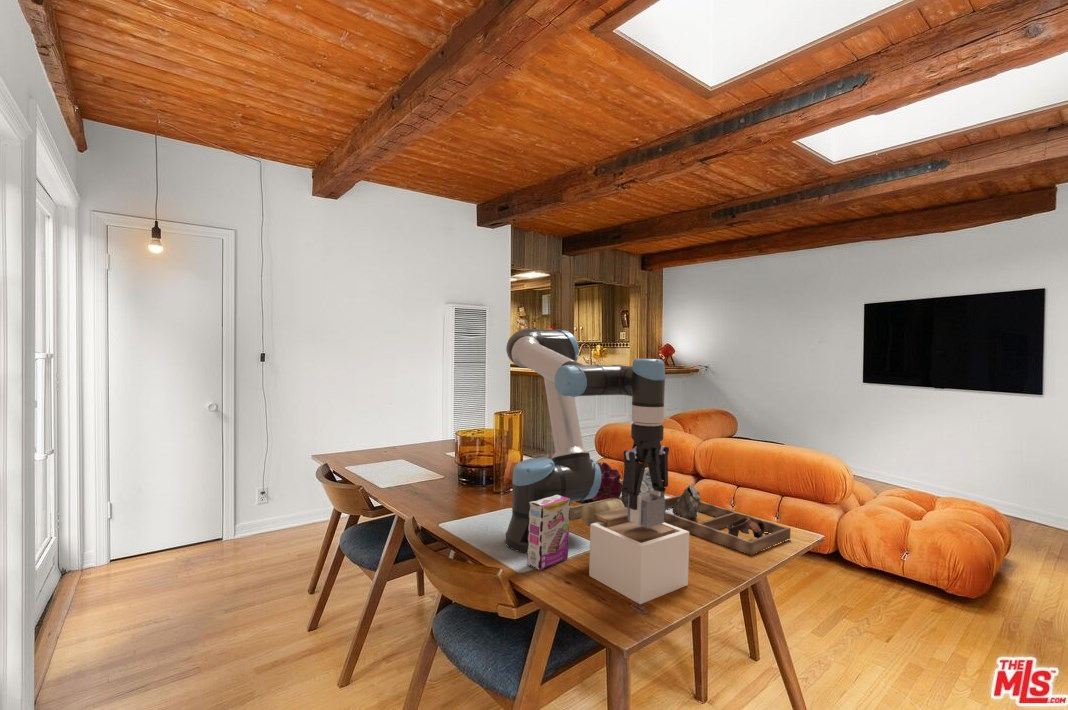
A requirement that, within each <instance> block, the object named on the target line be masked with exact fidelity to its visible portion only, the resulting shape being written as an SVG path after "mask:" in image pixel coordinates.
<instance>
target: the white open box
mask: <svg viewBox="0 0 1068 710" xmlns="http://www.w3.org/2000/svg"><path fill="white" fill-rule="evenodd" d="M661 525H663V526H666V527H669V528H671V529H674V533H672V534H669V535H666V536H663V537H659V538H656V539H653V540H649V541H646V542H643V543H640V542H638V541H635V540H633V539H631V538H628V537H626V536H624V535H621V534H619V533H617V532H615V531H612V530H610V529H608V528H605V527H604V526H607V523H606V522H604V521H600V522H596V523H592V524H590V526H589V529H590V530H589V535H590V536H589V565H588V566H589V571H588V572H589V574H588V576H589V577H591V578H593V579H594V580H596V581H597V582H600V583H601V584H604V585H605V586H607V587H609V588H610V589H612V590H613V591H616V592H617V593H619V594H621V595H623V596H624V597H626V598H628V599H630V600H631V601H633V602H635V603H637V604H639V605H642V604H645V603H648V602H651V601H652V600H655V599H657V598H660V597H662V596H664V595H667V594H669V593H672V592H675V591H676V590H679V589H681V588H685V587H686V586H689V562H690V561H689V559H690V558H689V556H690V555H689V554H690V533H689V531H686V530H684V529H681V528H678V527H676V526H673V525H670V524H667V523H665V522H664V523H662V524H661Z"/></svg>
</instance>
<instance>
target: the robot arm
mask: <svg viewBox="0 0 1068 710" xmlns="http://www.w3.org/2000/svg"><path fill="white" fill-rule="evenodd" d="M505 349H506V353H507V357H508V359H509V360H510V361H511V362H512V363H513V364H514V365H516V366H518V367H519V368H524V369H525V368H526V369H527V368H528V369H530V370H532V371H533V372H535V373H537V374H538V375H541V377H543V379H544V380H543V381H544V387H545V394H546V400H547V407H548V413H549V418H550V419H549V420H550V426H551V433H552V440H553V446H554V453H553V455H552V457H551V458H547V457H533V458H528V459H524V460H522V461H519V462H518V463H516V465H515V466H514V467H513V474H512V504H511V505H512V506H511V507H512V510H511V511H512V512H511V514H512V515H511V517H510V520H509V524H508V528H507V531H506V533H505V545H506V544H507V545H508V546H509V547H510V549H511V548H512V550H513V549H514V551H516V550H517V552H520V551H521V553H527V554H528V531H529V530H528V529H529V502H532V501H536V500H540V499H544V498H547V497H551V496H554V495H560V496H564V497H567V498H570V503H572V502H573V503H574V502H583V500H586V499H591V498H593V497H594V496H595V495H596V494H597V493H598V490H599V488H600V485H601V470H600V467H599V465H598V462H597V460H595V459H593V458H591V455H590V452H589V451H588V450H587V449H585V448H584V445H583V438H582V434H581V428H580V420H579V416H578V415H579V414H578V410H577V404H576V397H588V396H589V397H592V396H593V397H595V396H596V397H597V396H629V397H631V421H632V422H633V423H632V424H630V425H631V426H630V427H631V431H630V438H631V439H632V441H633V445H632V448H631V449H630V450H625V449H624V450H623V453H622V454H623V460H624V464H623V465H624V466H623V476H622V477H623V478H622V480H623V492H624V493H627V494H629V508H630V521H631V522H633V523H636V524H641V497H642V496H639V492H640V488H641V483H642V479H643V475H644V470H645V468H649V473H650V478H651V483H652V488H653V489H654V490H653V489H651V490H650V493H651V494H654V495H657V496H662V491H663V492H665V493H666V491H667V488H668V487H669V461H668V460H669V459H668V458H669V453H670V452H669V451H670V448H669V446H665V445H662V444H661V442H662V441H663V440H664V427H665V426H663V423H664V422H665V386H666V384H665V382H666V371H665V370H666V365H665V362H664V361H663V360H662V359H659V358H635V359H633V361H632V366H631V365H623V364H611V365H599V364H597V365H594V364H593V365H588V364H582V363H580V362H578V360H579V355H578V354H580V353H579V352H580V349H579V344H578V341H577V338H576V337H575V335H574V334H573V333H571V332H570V331H568V330H562V329H557V328H555V329H546V328H544V329H543V328H523V329H519V330H517V331H516V332H514V333H512V335H511V336H510V337H509V339H508V340H507V342H506V348H505ZM662 480H663V481H662ZM634 489H635V490H634ZM507 545H506V546H507ZM508 546H507V547H508ZM509 547H508V548H509Z"/></svg>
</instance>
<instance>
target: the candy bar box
mask: <svg viewBox="0 0 1068 710" xmlns="http://www.w3.org/2000/svg"><path fill="white" fill-rule="evenodd" d="M570 506H571V502H570V498H567V497H564V496H560V495H554V496H551V497H547V498H544V499H540V500H536V501H532V502H529V529H528V530H529V531H528V553H527V554H526V555H527V559H526V560H527V561H526V565H527V564H528V565H530V566H529V567H531V566H532V567H531V568H533V567H534V568H533V569H535V568H536V569H535V570H537V569H538V571H540V572H541V571H542V570H544V569H547V568H549V567H551V565H552V566H554V565H556V564H558V562H559V563H561V562H563V561H566V560H568V559H567V558H568V557H569V537H570V535H569V534H570V519H569V514H570ZM565 559H566V560H565ZM560 561H561V562H560ZM528 565H527V566H528Z"/></svg>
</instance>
